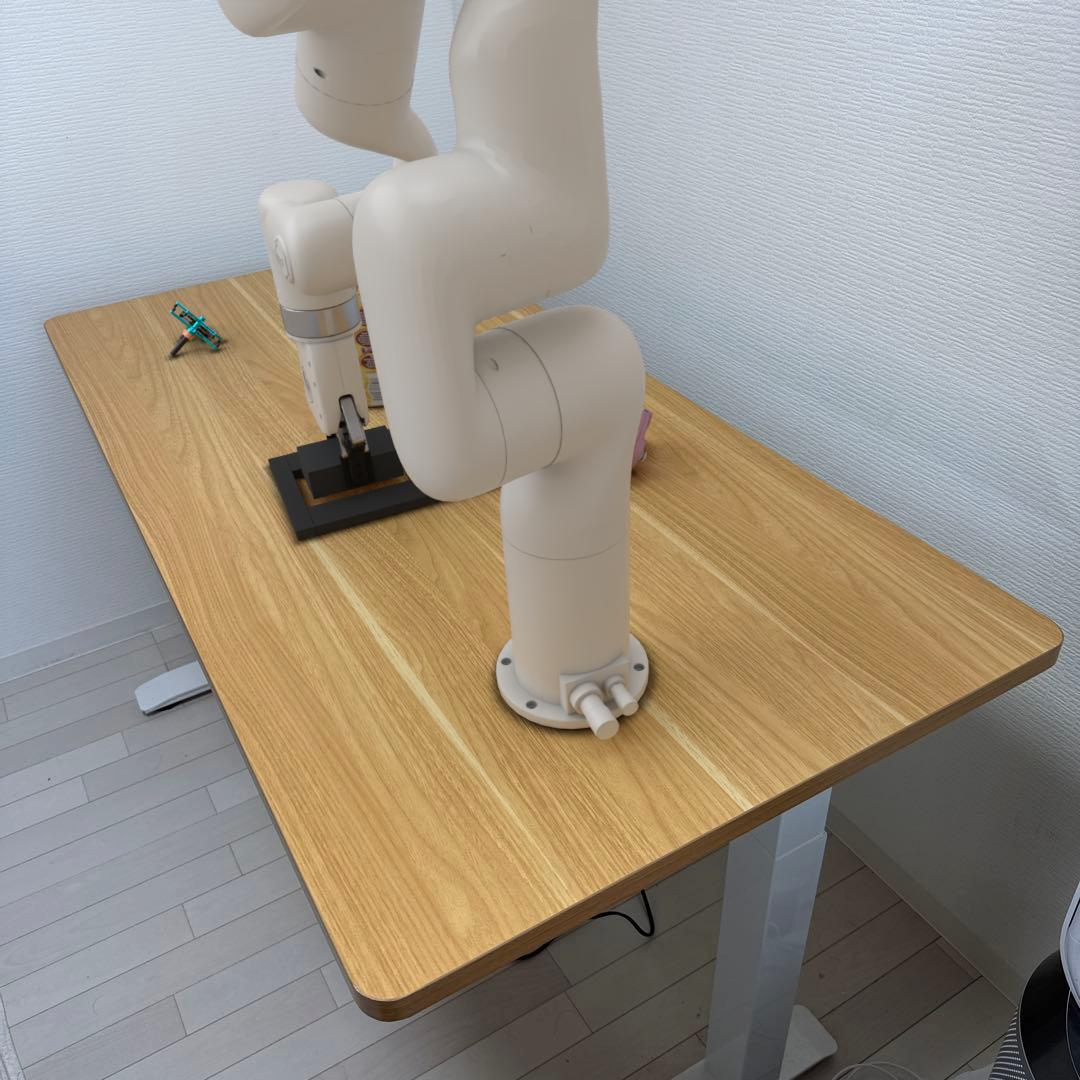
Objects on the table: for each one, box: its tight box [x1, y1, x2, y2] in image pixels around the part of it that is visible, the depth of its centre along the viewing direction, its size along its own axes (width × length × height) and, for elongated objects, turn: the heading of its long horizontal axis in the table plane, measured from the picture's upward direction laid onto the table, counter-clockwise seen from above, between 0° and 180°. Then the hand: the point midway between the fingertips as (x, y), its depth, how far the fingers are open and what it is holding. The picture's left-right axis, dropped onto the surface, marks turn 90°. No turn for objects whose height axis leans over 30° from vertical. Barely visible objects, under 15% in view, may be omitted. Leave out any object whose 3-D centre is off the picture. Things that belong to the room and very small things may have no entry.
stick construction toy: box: [169, 301, 223, 357], centre depth 138 cm, size 12×7×8 cm
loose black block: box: [296, 424, 405, 501], centre depth 104 cm, size 6×10×3 cm, turn 113°
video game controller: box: [631, 408, 653, 470], centre depth 105 cm, size 10×5×7 cm, turn 168°
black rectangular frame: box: [267, 428, 442, 541], centre depth 107 cm, size 16×22×1 cm
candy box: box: [353, 285, 384, 408], centre depth 119 cm, size 9×4×15 cm, turn 2°
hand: (352, 468), depth 105 cm, fingers closed on loose black block, 6 cm apart
